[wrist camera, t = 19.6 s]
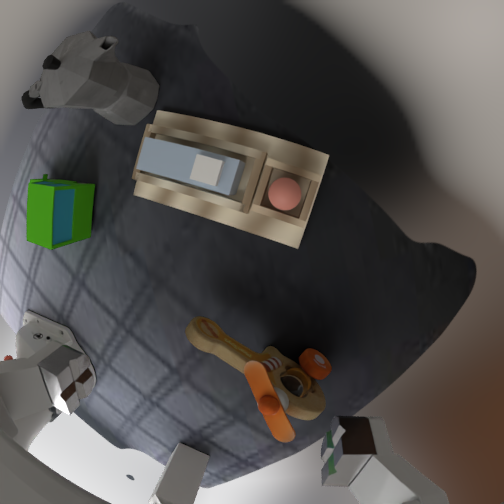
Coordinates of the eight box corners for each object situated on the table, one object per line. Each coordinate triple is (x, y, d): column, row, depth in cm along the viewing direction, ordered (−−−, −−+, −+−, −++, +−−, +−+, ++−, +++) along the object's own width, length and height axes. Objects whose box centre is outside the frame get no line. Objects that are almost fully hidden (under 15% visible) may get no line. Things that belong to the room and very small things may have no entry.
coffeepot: (169, 55, 32) (99, -5, 14) (177, 111, 34) (96, 66, 16) (86, 94, 34) (4, 69, 17) (90, 145, 36) (-1, 137, 19)
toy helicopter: (302, 394, 41) (301, 460, 27) (189, 325, 40) (149, 379, 27) (336, 361, 38) (348, 427, 25) (217, 283, 38) (179, 331, 25)
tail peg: (271, 203, 34) (266, 207, 26) (274, 178, 33) (270, 175, 25) (296, 206, 33) (299, 212, 26) (299, 181, 33) (303, 179, 25)
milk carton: (210, 455, 48) (185, 525, 29) (199, 467, 49) (175, 530, 31) (179, 441, 48) (147, 509, 29) (171, 454, 50) (141, 516, 31)
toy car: (48, 171, 38) (6, 173, 29) (100, 177, 37) (55, 178, 28) (44, 227, 41) (4, 238, 31) (94, 242, 40) (51, 257, 30)
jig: (137, 194, 37) (123, 195, 34) (160, 111, 34) (148, 105, 30) (297, 247, 36) (298, 253, 32) (328, 156, 32) (332, 152, 29)
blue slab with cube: (151, 169, 35) (132, 168, 30) (159, 141, 34) (141, 135, 29) (236, 194, 34) (226, 195, 29) (245, 163, 33) (238, 159, 28)
